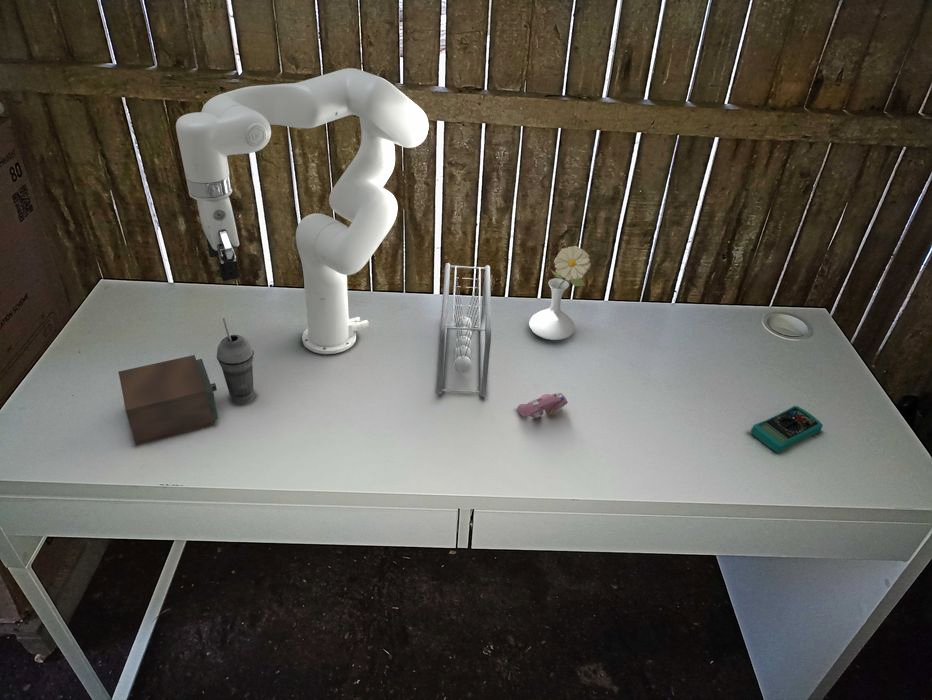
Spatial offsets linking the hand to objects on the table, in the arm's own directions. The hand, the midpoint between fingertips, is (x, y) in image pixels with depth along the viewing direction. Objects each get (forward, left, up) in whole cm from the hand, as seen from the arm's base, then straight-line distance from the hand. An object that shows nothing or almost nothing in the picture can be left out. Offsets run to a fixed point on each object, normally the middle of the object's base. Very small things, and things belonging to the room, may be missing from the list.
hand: (224, 267), depth 140 cm
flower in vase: (-74, +10, -29) cm, 80 cm away
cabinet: (+16, +5, -29) cm, 33 cm away
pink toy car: (-55, +35, -29) cm, 71 cm away
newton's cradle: (-48, +11, -29) cm, 57 cm away
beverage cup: (+1, +5, -29) cm, 29 cm away
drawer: (+13, +5, -28) cm, 31 cm away
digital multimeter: (-100, +61, -29) cm, 121 cm away
